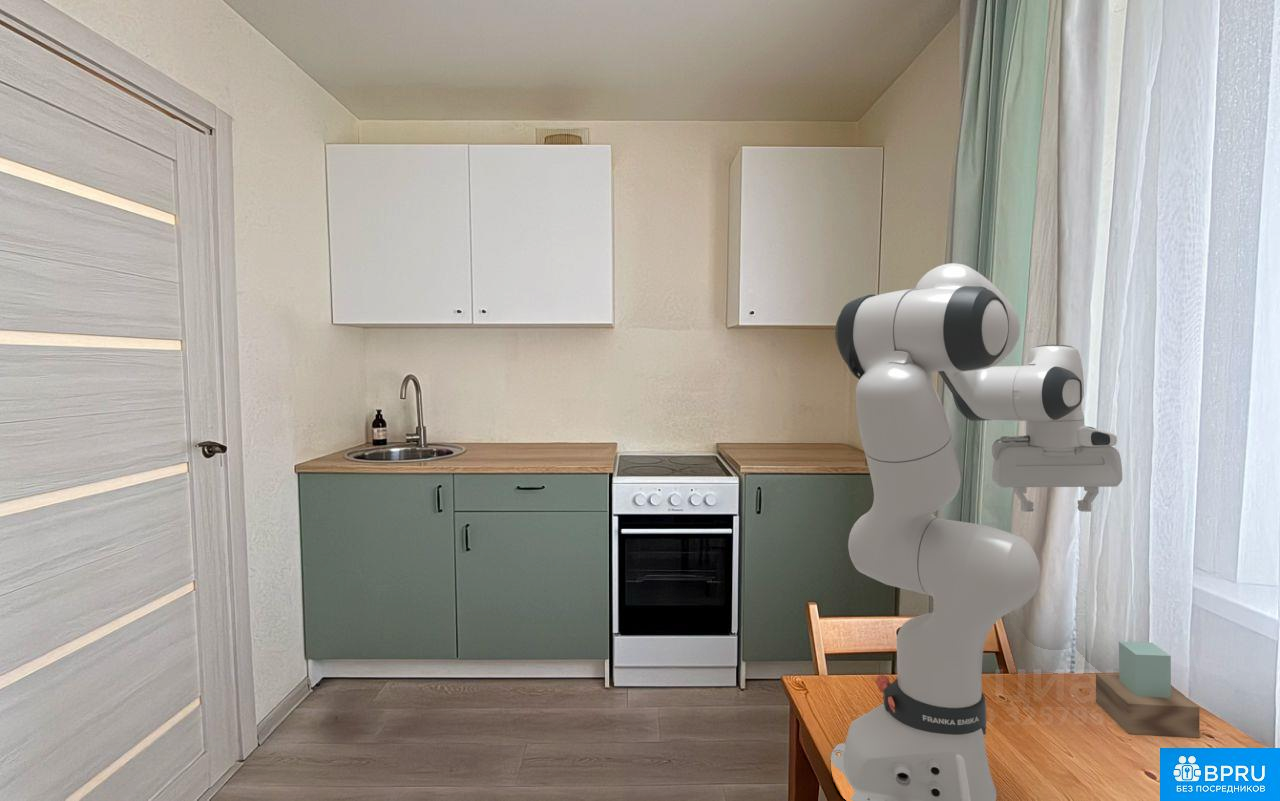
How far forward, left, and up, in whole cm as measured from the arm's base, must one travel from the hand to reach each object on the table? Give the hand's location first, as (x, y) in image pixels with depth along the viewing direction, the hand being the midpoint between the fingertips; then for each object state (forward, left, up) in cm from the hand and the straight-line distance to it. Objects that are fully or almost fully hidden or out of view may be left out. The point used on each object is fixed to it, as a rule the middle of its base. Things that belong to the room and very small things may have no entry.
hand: (1055, 511), depth 115 cm
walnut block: (+9, -9, -33) cm, 36 cm away
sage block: (+9, -9, -28) cm, 31 cm away
